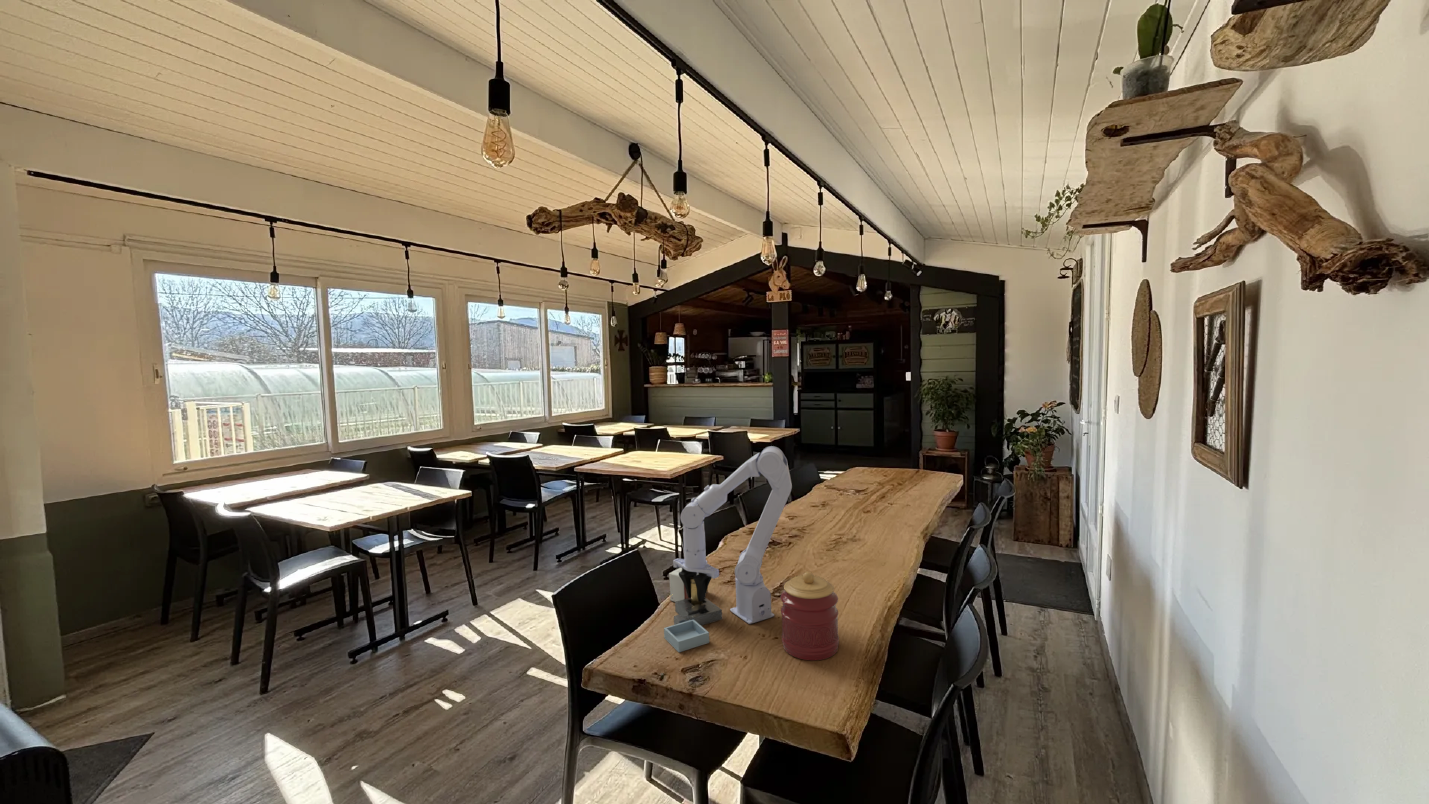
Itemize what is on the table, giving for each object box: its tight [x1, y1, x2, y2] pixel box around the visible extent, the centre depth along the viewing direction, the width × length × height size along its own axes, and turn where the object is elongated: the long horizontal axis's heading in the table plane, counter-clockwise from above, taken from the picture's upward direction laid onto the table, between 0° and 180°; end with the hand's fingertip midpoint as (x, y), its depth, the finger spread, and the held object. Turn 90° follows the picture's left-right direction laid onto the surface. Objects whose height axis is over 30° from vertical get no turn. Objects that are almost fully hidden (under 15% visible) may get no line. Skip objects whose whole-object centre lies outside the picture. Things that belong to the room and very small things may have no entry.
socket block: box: [674, 597, 723, 627], centre depth 146 cm, size 11×8×3 cm
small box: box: [668, 567, 709, 603], centre depth 158 cm, size 8×6×10 cm
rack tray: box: [663, 619, 710, 653], centre depth 133 cm, size 8×8×2 cm
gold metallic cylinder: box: [690, 576, 703, 606], centre depth 148 cm, size 3×3×9 cm
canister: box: [780, 571, 840, 661], centre depth 127 cm, size 13×13×18 cm
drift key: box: [673, 613, 700, 625], centre depth 141 cm, size 3×7×3 cm, turn 120°
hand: (696, 598), depth 148 cm, fingers closed on gold metallic cylinder, 3 cm apart
